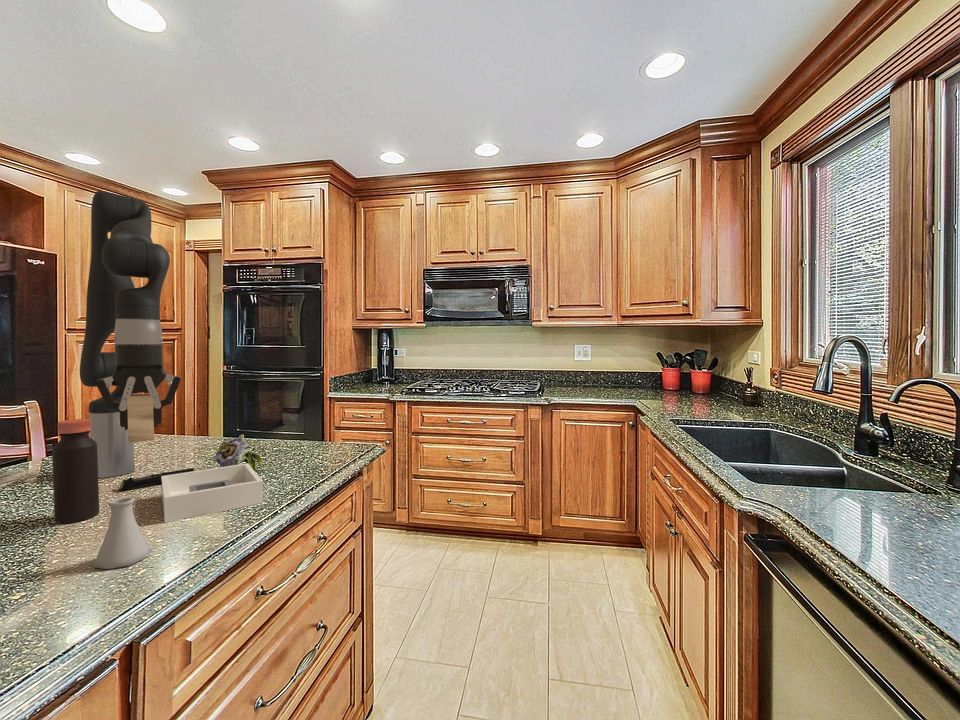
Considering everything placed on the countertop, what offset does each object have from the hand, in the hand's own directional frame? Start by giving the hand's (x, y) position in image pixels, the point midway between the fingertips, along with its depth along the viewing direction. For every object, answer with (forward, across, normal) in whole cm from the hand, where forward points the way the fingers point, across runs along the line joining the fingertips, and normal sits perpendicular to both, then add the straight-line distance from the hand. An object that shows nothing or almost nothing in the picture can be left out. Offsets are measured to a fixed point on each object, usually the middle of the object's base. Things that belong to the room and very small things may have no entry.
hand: (141, 427), depth 88 cm
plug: (+2, 0, 0) cm, 2 cm away
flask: (+19, +2, +18) cm, 27 cm away
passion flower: (+19, -21, -28) cm, 40 cm away
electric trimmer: (+20, -2, -26) cm, 33 cm away
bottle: (+19, +11, -9) cm, 24 cm away
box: (+19, -12, -5) cm, 23 cm away
